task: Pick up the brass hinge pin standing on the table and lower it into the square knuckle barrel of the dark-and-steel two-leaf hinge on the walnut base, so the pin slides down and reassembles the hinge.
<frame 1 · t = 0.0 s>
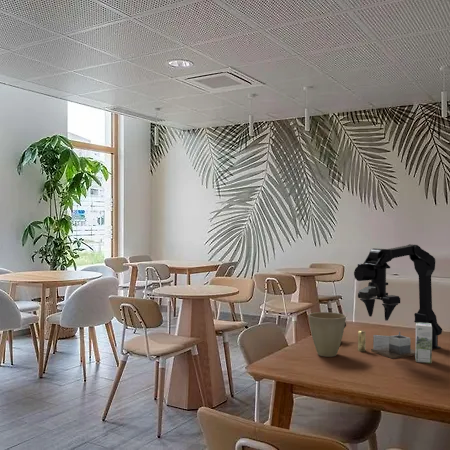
hand: (378, 318, 205), 15 cm above the table, fingers open, 9 cm apart
syrup box: (423, 361, 196), on the table
coffee mug: (331, 340, 229), on the table
hinge: (399, 354, 206), on the table
plant pot: (326, 355, 205), on the table
hinge pin: (361, 350, 211), on the table
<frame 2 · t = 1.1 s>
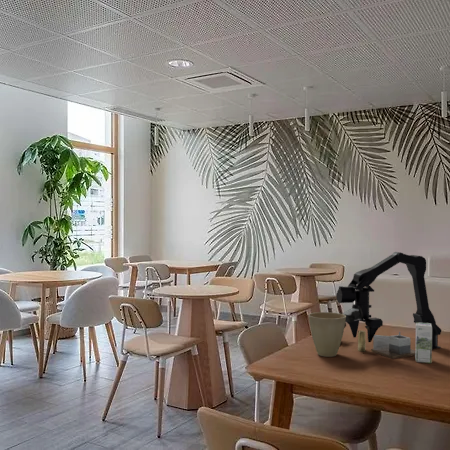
hand: (361, 339, 211), 4 cm above the table, fingers open, 9 cm apart
nothing on the table moved.
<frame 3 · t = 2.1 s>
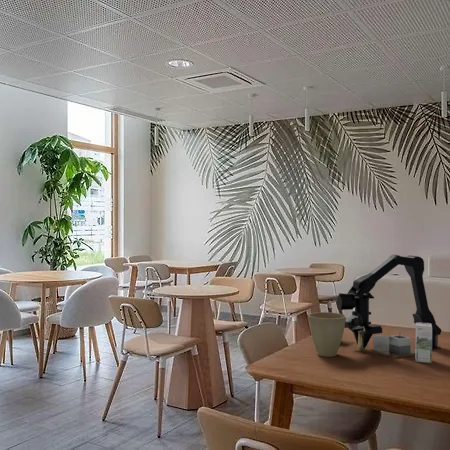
hand: (361, 346, 211), 2 cm above the table, fingers closed on hinge pin, 3 cm apart
hinge pin: (361, 350, 211), on the table, touching gripper
everything else where it was.
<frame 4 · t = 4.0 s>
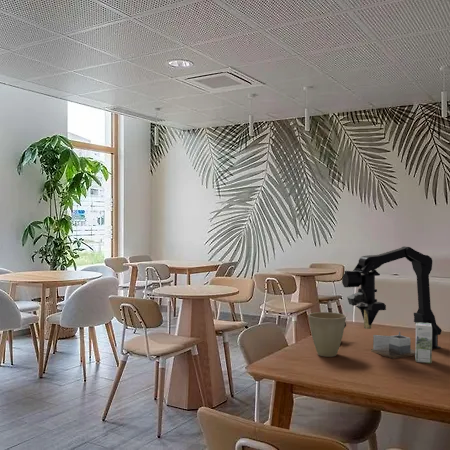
hand: (367, 324, 210), 11 cm above the table, fingers closed on hinge pin, 3 cm apart
hinge pin: (367, 328, 210), point 10 cm above the table, touching gripper
everything else where it was.
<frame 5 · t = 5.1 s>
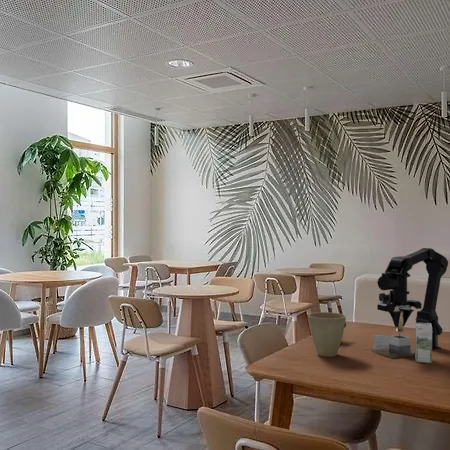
hand: (399, 326, 206), 11 cm above the table, fingers closed on hinge pin, 3 cm apart
hinge pin: (399, 330, 206), point 9 cm above the table, touching gripper
everything else where it was.
when the fingers open (8 cm above the table, at t = 6.0 s): hinge pin drops 5 cm, resting on hinge.
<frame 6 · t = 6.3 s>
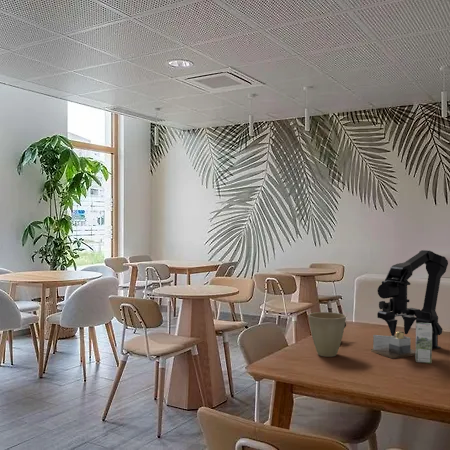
hand: (399, 334, 206), 8 cm above the table, fingers open, 7 cm apart
hinge pin: (399, 351, 206), point 1 cm above the table, tilted 6°, touching hinge
everything else where it was.
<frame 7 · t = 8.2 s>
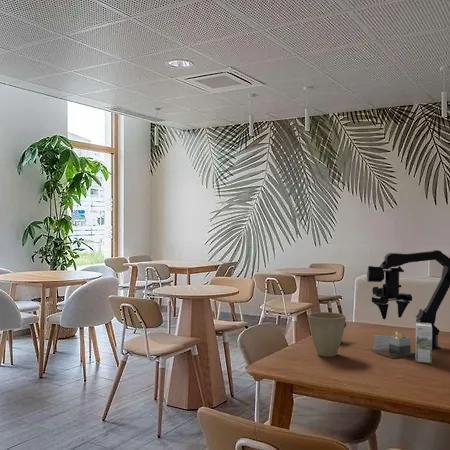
hand: (392, 318, 219), 12 cm above the table, fingers open, 9 cm apart
hinge pin: (399, 351, 206), point 1 cm above the table, touching hinge
everything else where it was.
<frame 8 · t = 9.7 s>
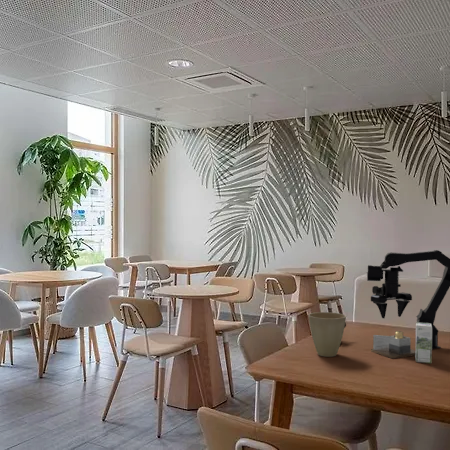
hand: (391, 317, 221), 12 cm above the table, fingers open, 9 cm apart
nothing on the table moved.
at the end: hinge pin 0.1 cm off-centre on the hinge, point 1.0 cm above the hinge's base; hinge pin tilted 0°; the gripper is holding nothing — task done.
